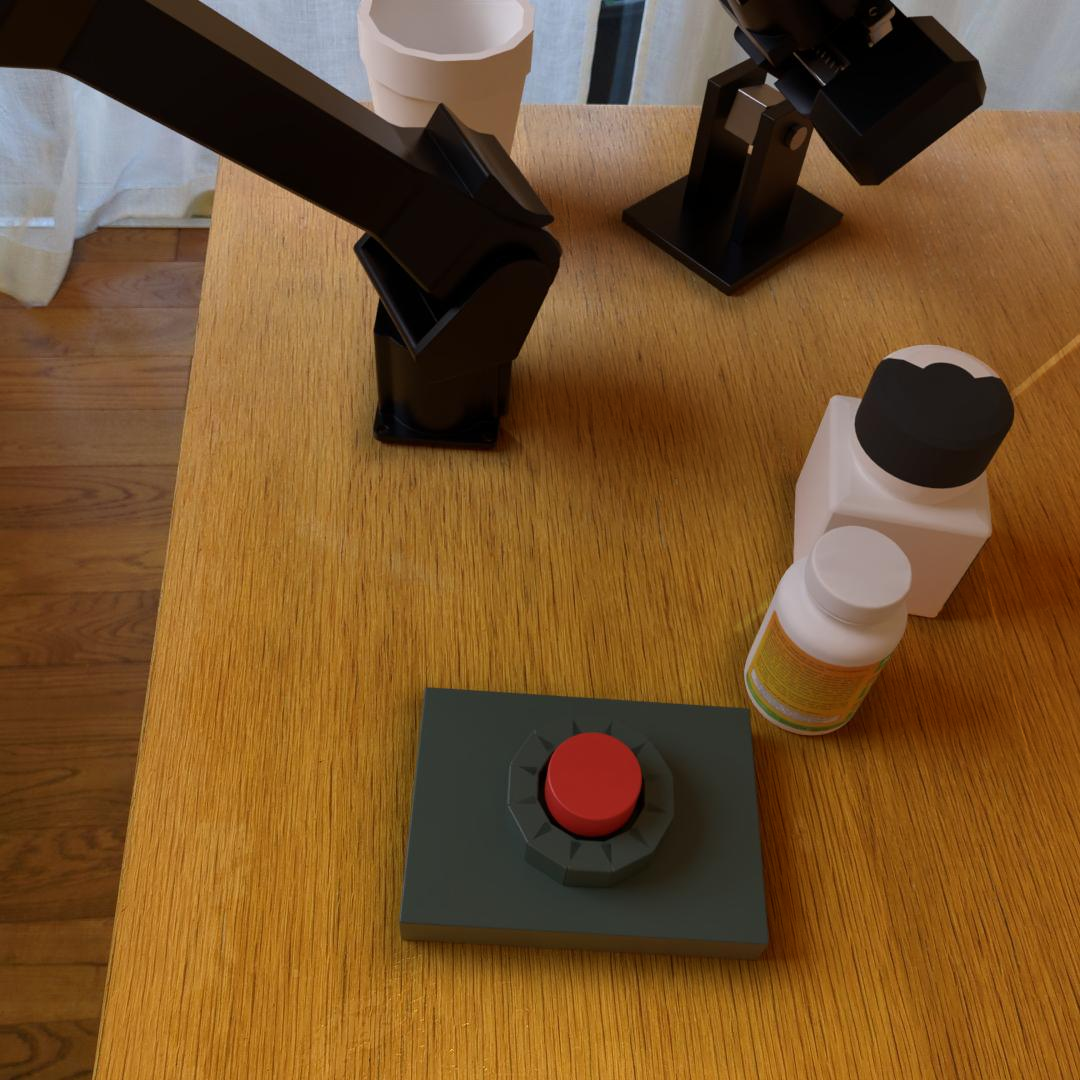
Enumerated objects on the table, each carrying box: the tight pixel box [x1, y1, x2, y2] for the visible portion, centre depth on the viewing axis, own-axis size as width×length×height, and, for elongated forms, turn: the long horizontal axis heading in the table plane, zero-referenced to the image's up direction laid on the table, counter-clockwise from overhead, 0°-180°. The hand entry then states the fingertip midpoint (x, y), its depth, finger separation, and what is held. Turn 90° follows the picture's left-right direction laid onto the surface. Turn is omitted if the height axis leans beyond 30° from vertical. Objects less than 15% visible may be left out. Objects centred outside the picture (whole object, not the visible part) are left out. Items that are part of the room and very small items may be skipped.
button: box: [545, 733, 642, 837], centre depth 43 cm, size 4×4×2 cm
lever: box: [724, 83, 786, 147], centre depth 67 cm, size 12×3×3 cm, turn 133°
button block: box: [398, 686, 770, 961], centre depth 45 cm, size 14×10×4 cm
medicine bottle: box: [793, 344, 1015, 618], centre depth 51 cm, size 7×7×12 cm
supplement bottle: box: [743, 526, 913, 736], centre depth 47 cm, size 5×5×10 cm
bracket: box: [621, 57, 844, 297], centre depth 67 cm, size 11×9×10 cm
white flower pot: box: [356, 0, 536, 157], centre depth 64 cm, size 10×9×13 cm
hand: (859, 116), depth 58 cm, fingers closed
